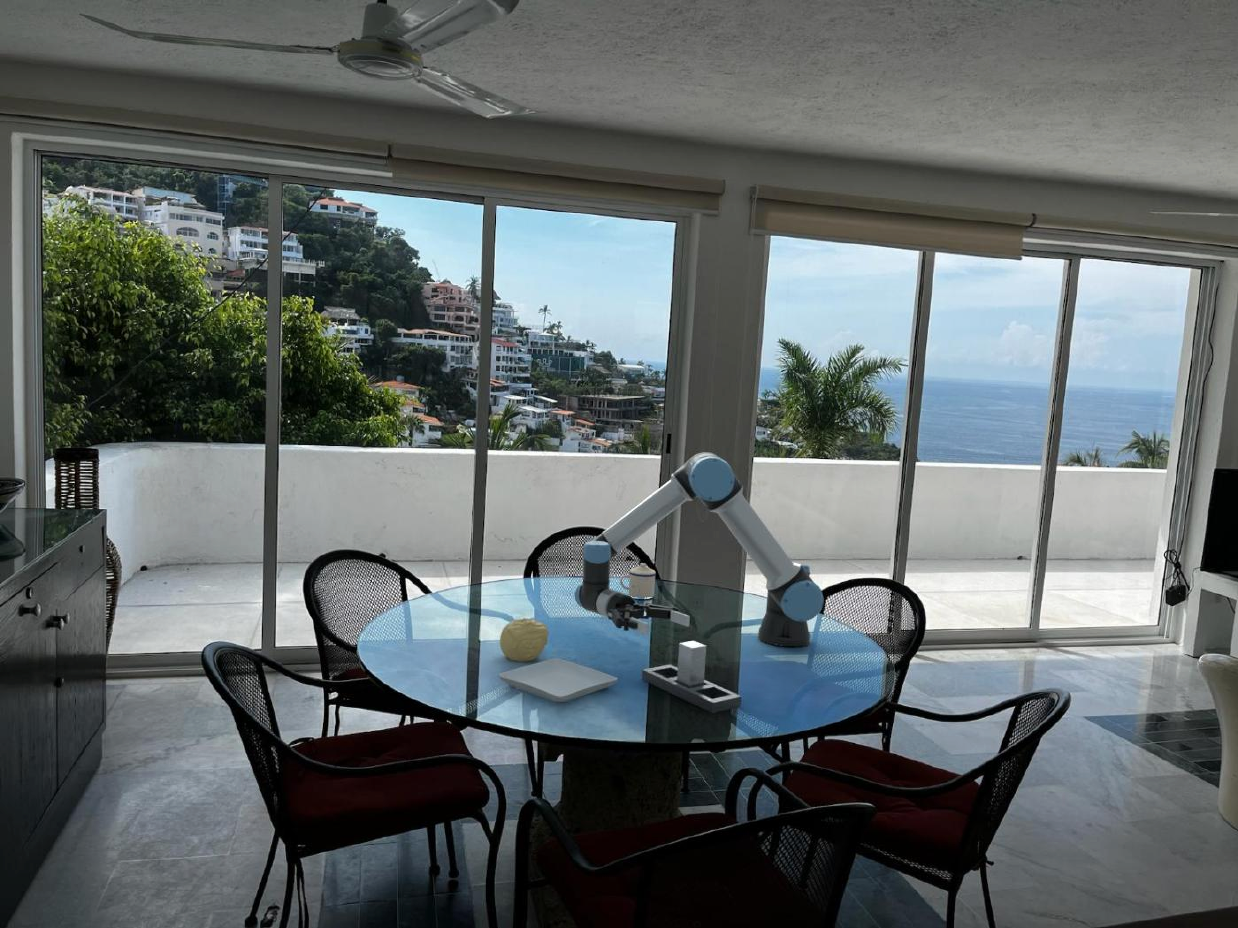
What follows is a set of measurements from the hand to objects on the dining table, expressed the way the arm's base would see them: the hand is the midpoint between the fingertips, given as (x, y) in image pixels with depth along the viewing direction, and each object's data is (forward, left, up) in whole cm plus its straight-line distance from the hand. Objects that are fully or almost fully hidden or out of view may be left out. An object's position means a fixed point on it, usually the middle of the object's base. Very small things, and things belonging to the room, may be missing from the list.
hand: (668, 625), depth 239 cm
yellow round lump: (+24, -29, -14) cm, 41 cm away
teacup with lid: (-45, -68, -14) cm, 83 cm away
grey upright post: (+2, +11, -14) cm, 18 cm away
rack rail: (+2, +12, -14) cm, 18 cm away
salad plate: (+28, -6, -14) cm, 32 cm away
